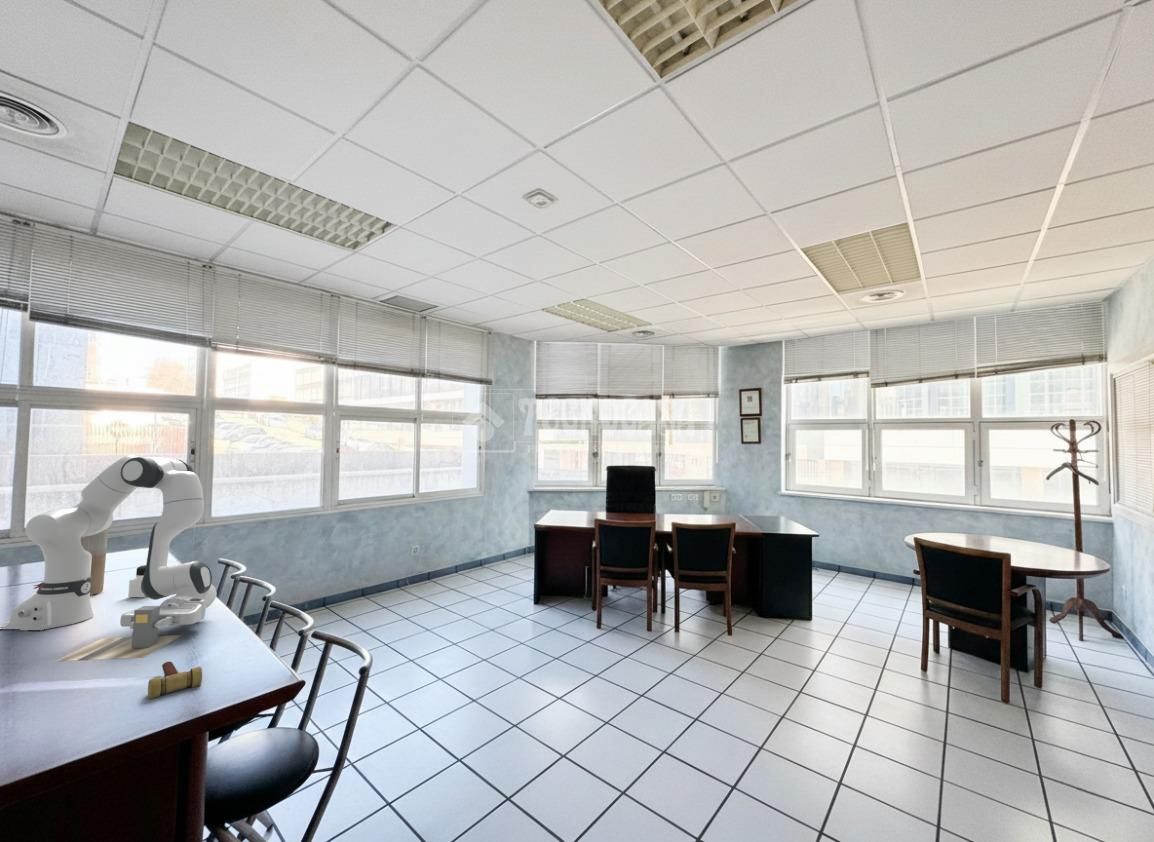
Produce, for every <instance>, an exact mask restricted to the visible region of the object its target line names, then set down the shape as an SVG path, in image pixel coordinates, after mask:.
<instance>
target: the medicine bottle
mask: <svg viewBox="0 0 1154 842" xmlns="http://www.w3.org/2000/svg"><path fill="white" fill-rule="evenodd" d="M145 570H146V564H145V565H140V566H138V567H137V568H136V574H135V578H132V579H129V581H128V583H129V584H128V595H127V597H147V596H146V595H144V594H143V592H142V590H141V582H142V579H143V576H144V573H145ZM147 598H148V597H147Z"/></svg>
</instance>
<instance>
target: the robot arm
mask: <svg viewBox="0 0 1154 842" xmlns="http://www.w3.org/2000/svg"><path fill="white" fill-rule="evenodd" d="M137 488H146V489H159V491H161V493H162V505H163V506H162V507H163V508H162V512H161V515H160V518H159V520H158V521H157V522H156V523H155V524H154V525H153V527H152V529H151V533H150V537H149V545H148V550H147V557H146V564H145V565H146V570H145V573H144V576H143V579H142V582H141V590H142V592H143V594H144V595H146V596H147V598H149V599H150V600H154V601H155V600H161V599H163V598H166V597H169V598H166V600H163V601H162V602H161V604H159V606H160V614H159V620H157V621H155V622H153V626H152V628H158V629H159V628H162V627H165V626H184V625H185V626H188V625H194V624H196V623H199V622H200V621H203V620H204V619H205V615H206V609H207V608H209V607H210V606H211V605H212V604H213V603H214V601H215V600H216V597H217V594H218V593H217V589H216V587H215V586H214V585H213V584H212V582H213V581H212V580H213V579H212V578H213V577H212V572H211V569H210V567H209V566H208V565H207V564H206V563H205V562H203V561H201V560H194V561H188V562H185V563H180V564H176V565H171V566H168V561H169V554H170V553H169V551H170V545H171V542H172V540H173V539H174V538H175V537H176V536H177V535H179V534H180V533H182V532H183V531H185V530H187V529H189V528H191V527H193V526H194V525H195V524H197V523H198V521H200V520H201V518H202V517H203V515H204V512H205V500H204V491H203V486H202V483H201V480H200V477H199V475H198V474H196V473H195V472H194V469H193V467H192V466H191V464H189V463H188V462H186V461H184V460H180V459H174V458H169V457H158V456H157V457H156V456H155V457H154V456H143V455H142V456H138V455H126V456H125V455H124V456H123V457H121V458H119V459H118V460H116V461H115V462H113V463H112V464H110V465H109V466H108V467H106V468H105V469H104V470H103V471H101V472H100V473H99V474H98V475H97V476H95V478H93V479H92V481H90V482H89V483H88V484H87V485H85V486H84V488H83V489H82V490H81V498H82V499H81V501H80V502H79V503H78V504H76V505H75V506H72V507H69V508H60V509H55V510H54V509H53V510H50V511H46V512H43V513H40V514H37V515H35V516H34V517H32V518H30V520H28V522H27V523H26V525H25V535H26V536H27V538H28V539H29V540H30V541H32V542H34V543H36V544H37V545H38V547H39V548H40V551H42V555H43V558H44V572H43V573H44V576H43V581H42V582H40V583H38V584H35V585H33V590H34V589H37V590H36V592H35V594H33V595H32V596H30V597H29V598H27V599H26V600H24V601H22V602H21V603H19V604H17V605H16V606H15V607H14V608H13V609H12V611H11V612H10V613H11V614H9V615H10V616H9V620H8V621H4V622H2V623H0V628H2V629H4V628H5V629H20V630H19V631H28V630H40V631H43V630H44V629H45V630H48V629H53V628H56V627H57V628H58V627H65V626H68V625H72V624H77V623H81V622H83V621H87V620H89V619H91V618H93V617H94V616H95V615H94V613H93V609H92V604H91V596H90V589H91V584H92V576H90V574H91V562H92V555H91V553H90V552H88V551H86V550H84V548H83V547H82V544H81V537H86V536H91V535H94V534H97V533H99V532H101V531H104V530H106V529H107V528H108V529H109V528H110V527H111V525H112V523H114V522H113V521H114V514H113V513H114V512H115V510H116V509H117V507H119V505H120V504H122V503H123V502H124V501H125V500H126V499H127V498H128V497H129V496H130V495H131V494H132V493H134V491H135V490H136V489H137ZM170 596H171V597H170ZM136 609H137V608H136ZM136 609H133V610H130V611H128V612H125V613H123V614H121V615H120V621H119V624H120V627H122V628H124V627H125V628H127V627H129V629H130V630H133V622H134V610H136ZM93 615H94V616H93ZM92 616H93V617H92ZM45 630H44V631H45Z"/></svg>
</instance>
